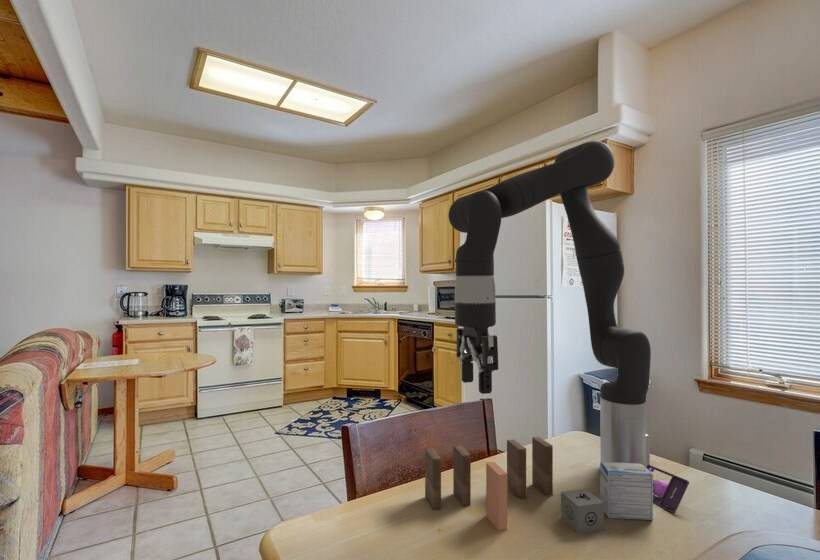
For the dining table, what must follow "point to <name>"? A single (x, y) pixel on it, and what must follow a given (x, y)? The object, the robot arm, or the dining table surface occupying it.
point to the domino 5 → (542, 465)
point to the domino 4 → (516, 469)
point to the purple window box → (669, 490)
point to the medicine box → (626, 490)
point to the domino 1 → (433, 478)
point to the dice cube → (582, 511)
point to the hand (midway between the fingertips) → (475, 387)
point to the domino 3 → (496, 495)
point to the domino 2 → (462, 475)
